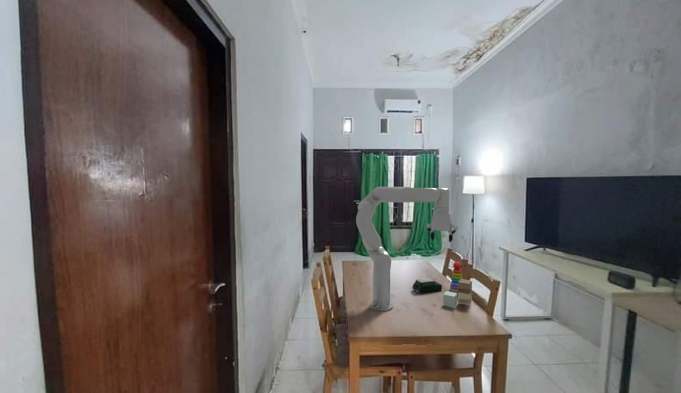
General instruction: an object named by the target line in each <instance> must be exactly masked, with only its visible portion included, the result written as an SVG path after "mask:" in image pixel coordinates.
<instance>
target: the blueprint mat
mask: <svg viewBox="0 0 681 393" xmlns="http://www.w3.org/2000/svg"><path fill="white" fill-rule="evenodd" d="M473 302H474V301H473V300H472V302H471V303H470V305H467V304H464V305H465V306H472V304H473ZM441 304H442V305H441V306H444V307H449V308H452V309H456V308H457V307H458V305H459V304H460V305H463V304H462V303H458V301H457V305H456V306H455V307H450V306H446V305H443V303H441Z"/></svg>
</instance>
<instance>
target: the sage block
mask: <svg viewBox="0 0 681 393" xmlns="http://www.w3.org/2000/svg"><path fill="white" fill-rule="evenodd" d="M442 297H443V298H442V304H443V305H442V306H444V305H446V306H445V307H448V306H450V307H449V308H452V307H455V306H456V305H457V302H458V292H453V291H449V290H448V291H447V290H446V291H445V292H444V293H443V296H442ZM457 306H458V305H457ZM457 306H456V307H457Z"/></svg>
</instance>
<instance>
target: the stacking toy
mask: <svg viewBox="0 0 681 393" xmlns="http://www.w3.org/2000/svg"><path fill="white" fill-rule="evenodd" d="M452 267H453V269H452V272H451V275H452V276H451V282H450V285H449V290H450V292H453V293H458V282H459V280H460V279H463V276H462V269H461V268H462V263H461V262H460V261H454V262H453V264H452Z"/></svg>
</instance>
